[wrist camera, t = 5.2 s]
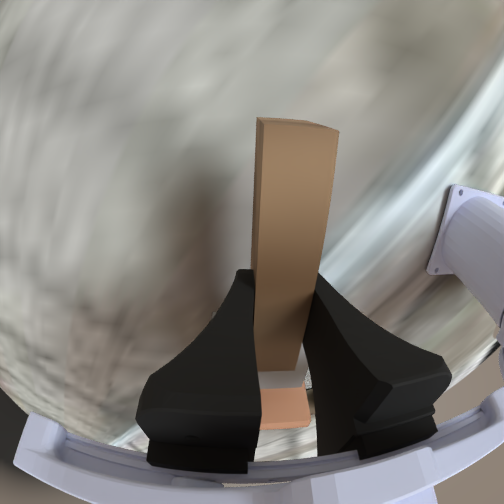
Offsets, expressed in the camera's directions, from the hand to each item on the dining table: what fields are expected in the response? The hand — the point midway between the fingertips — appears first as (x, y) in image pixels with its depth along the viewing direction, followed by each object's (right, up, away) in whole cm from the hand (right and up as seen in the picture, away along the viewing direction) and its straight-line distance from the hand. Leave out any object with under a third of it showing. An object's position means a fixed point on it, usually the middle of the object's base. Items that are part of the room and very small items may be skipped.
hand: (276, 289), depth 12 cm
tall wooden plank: (0, -1, +3) cm, 3 cm away
